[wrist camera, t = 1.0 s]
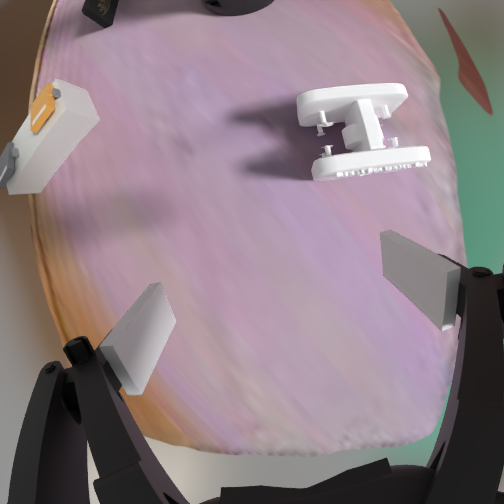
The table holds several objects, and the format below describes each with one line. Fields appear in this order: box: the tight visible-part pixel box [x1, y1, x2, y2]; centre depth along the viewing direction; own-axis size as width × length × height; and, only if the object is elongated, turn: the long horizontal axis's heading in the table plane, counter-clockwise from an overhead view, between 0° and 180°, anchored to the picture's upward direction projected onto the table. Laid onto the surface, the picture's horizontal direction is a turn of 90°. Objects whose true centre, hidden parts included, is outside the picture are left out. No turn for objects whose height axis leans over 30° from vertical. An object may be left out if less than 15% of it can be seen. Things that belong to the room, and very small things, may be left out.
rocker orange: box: [31, 83, 55, 133], centre depth 32 cm, size 8×6×2 cm
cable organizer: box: [296, 83, 431, 181], centre depth 31 cm, size 15×11×12 cm
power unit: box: [6, 78, 100, 195], centre depth 40 cm, size 10×24×12 cm, turn 123°
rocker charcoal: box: [0, 142, 14, 189], centre depth 36 cm, size 8×6×2 cm
